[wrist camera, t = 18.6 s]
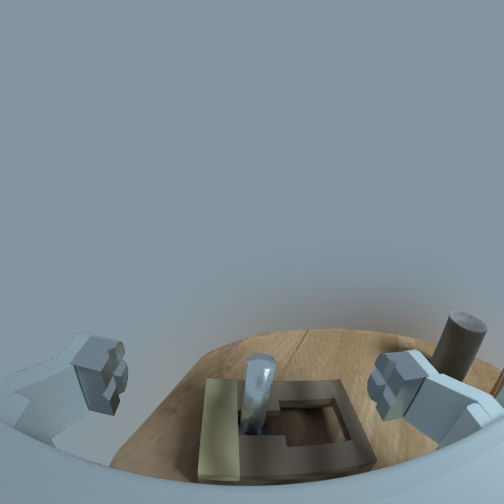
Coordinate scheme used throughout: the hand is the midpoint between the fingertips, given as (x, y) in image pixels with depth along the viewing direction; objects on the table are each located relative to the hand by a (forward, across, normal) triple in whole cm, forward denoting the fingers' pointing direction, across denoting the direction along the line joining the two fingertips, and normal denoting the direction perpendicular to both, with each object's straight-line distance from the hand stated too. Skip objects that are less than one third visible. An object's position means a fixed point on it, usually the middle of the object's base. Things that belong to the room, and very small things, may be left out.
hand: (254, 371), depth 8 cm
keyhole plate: (+17, -8, +28) cm, 34 cm away
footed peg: (+17, -3, +28) cm, 33 cm away
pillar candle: (+27, -46, +28) cm, 60 cm away
